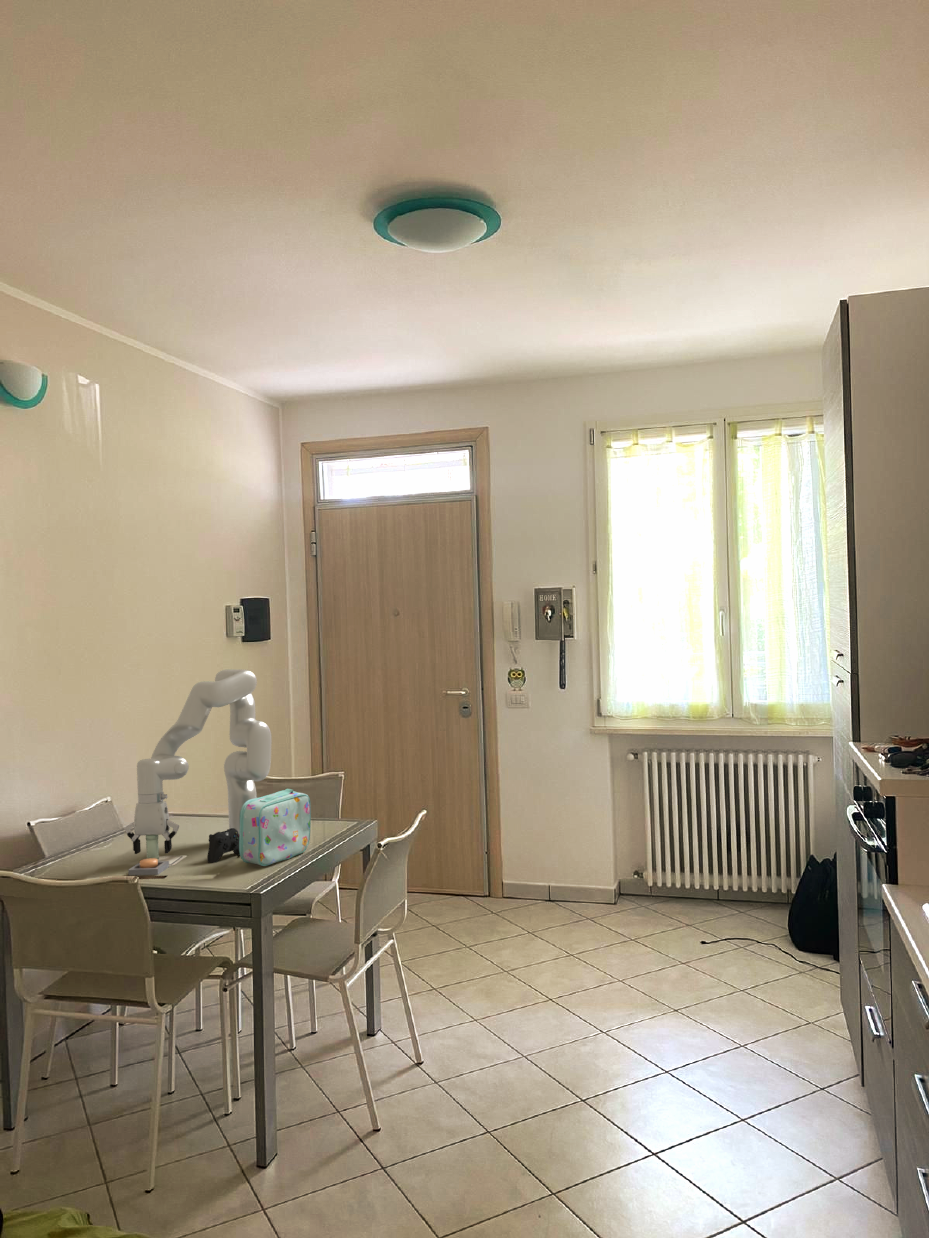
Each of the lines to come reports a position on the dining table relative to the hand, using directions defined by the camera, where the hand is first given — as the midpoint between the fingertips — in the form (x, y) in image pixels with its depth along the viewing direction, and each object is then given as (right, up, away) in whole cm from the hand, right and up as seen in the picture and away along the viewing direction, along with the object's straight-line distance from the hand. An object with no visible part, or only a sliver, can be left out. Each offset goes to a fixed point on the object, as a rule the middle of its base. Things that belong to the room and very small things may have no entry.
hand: (152, 852), depth 295 cm
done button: (+2, -2, -10) cm, 10 cm away
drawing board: (+3, -4, -3) cm, 6 cm away
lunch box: (+38, -3, +4) cm, 39 cm away
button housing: (+2, -4, -10) cm, 11 cm away
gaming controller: (+22, -4, +3) cm, 23 cm away
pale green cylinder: (0, -3, 0) cm, 3 cm away
